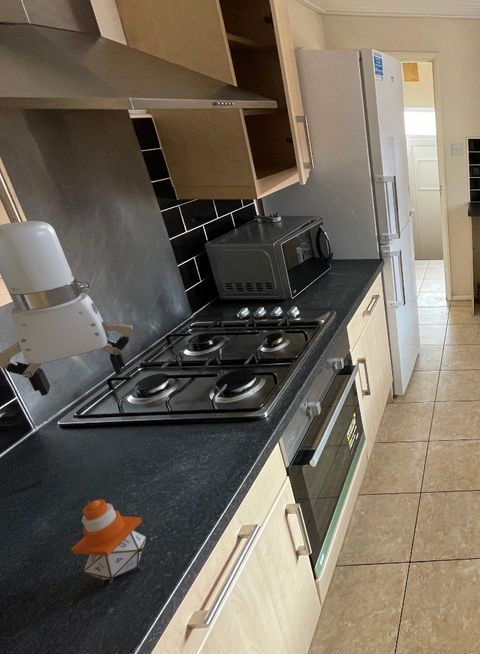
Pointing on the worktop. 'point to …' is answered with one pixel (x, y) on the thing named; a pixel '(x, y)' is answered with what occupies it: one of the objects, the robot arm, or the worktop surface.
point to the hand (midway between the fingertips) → (84, 380)
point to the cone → (103, 529)
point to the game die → (117, 559)
